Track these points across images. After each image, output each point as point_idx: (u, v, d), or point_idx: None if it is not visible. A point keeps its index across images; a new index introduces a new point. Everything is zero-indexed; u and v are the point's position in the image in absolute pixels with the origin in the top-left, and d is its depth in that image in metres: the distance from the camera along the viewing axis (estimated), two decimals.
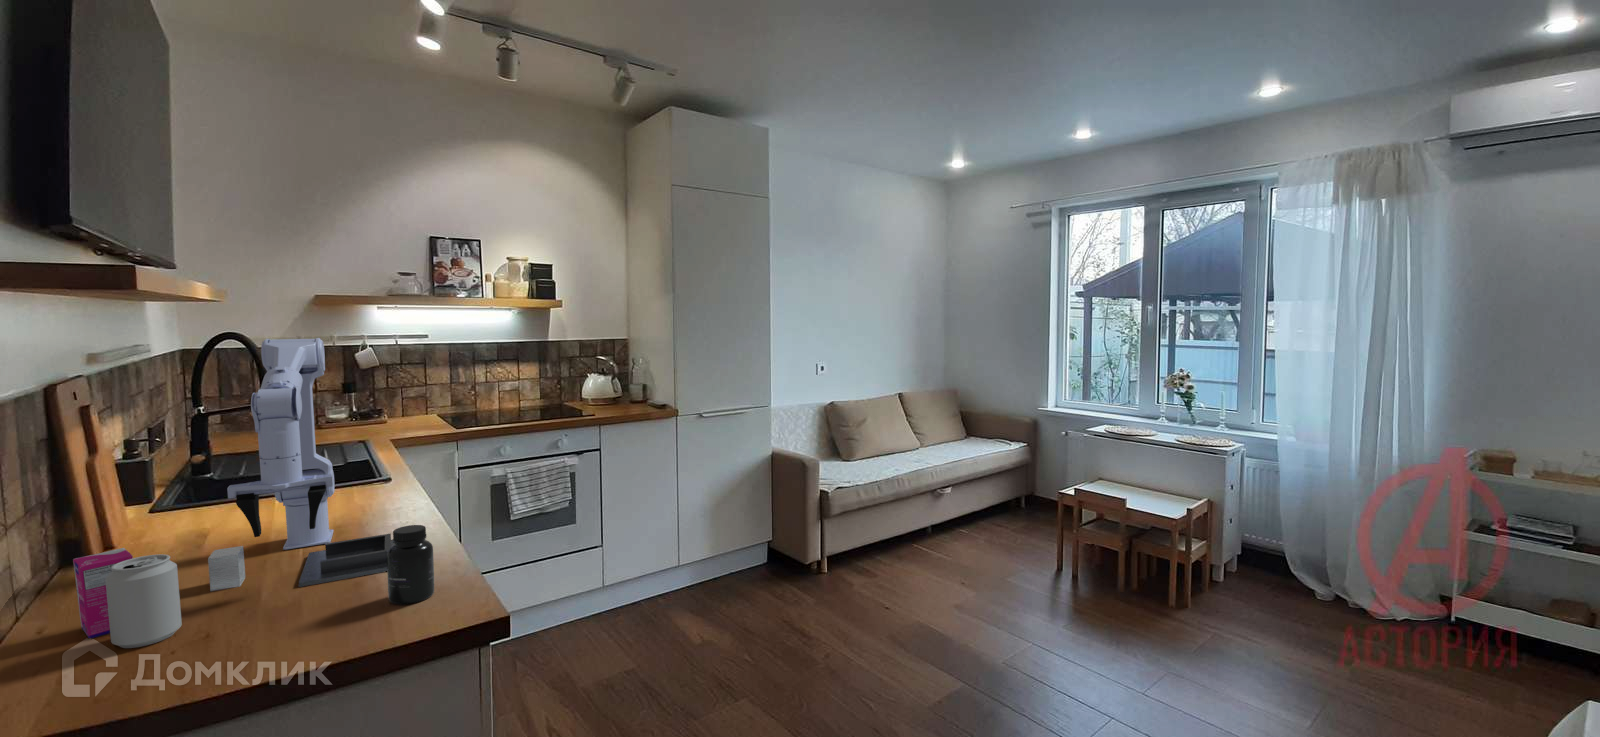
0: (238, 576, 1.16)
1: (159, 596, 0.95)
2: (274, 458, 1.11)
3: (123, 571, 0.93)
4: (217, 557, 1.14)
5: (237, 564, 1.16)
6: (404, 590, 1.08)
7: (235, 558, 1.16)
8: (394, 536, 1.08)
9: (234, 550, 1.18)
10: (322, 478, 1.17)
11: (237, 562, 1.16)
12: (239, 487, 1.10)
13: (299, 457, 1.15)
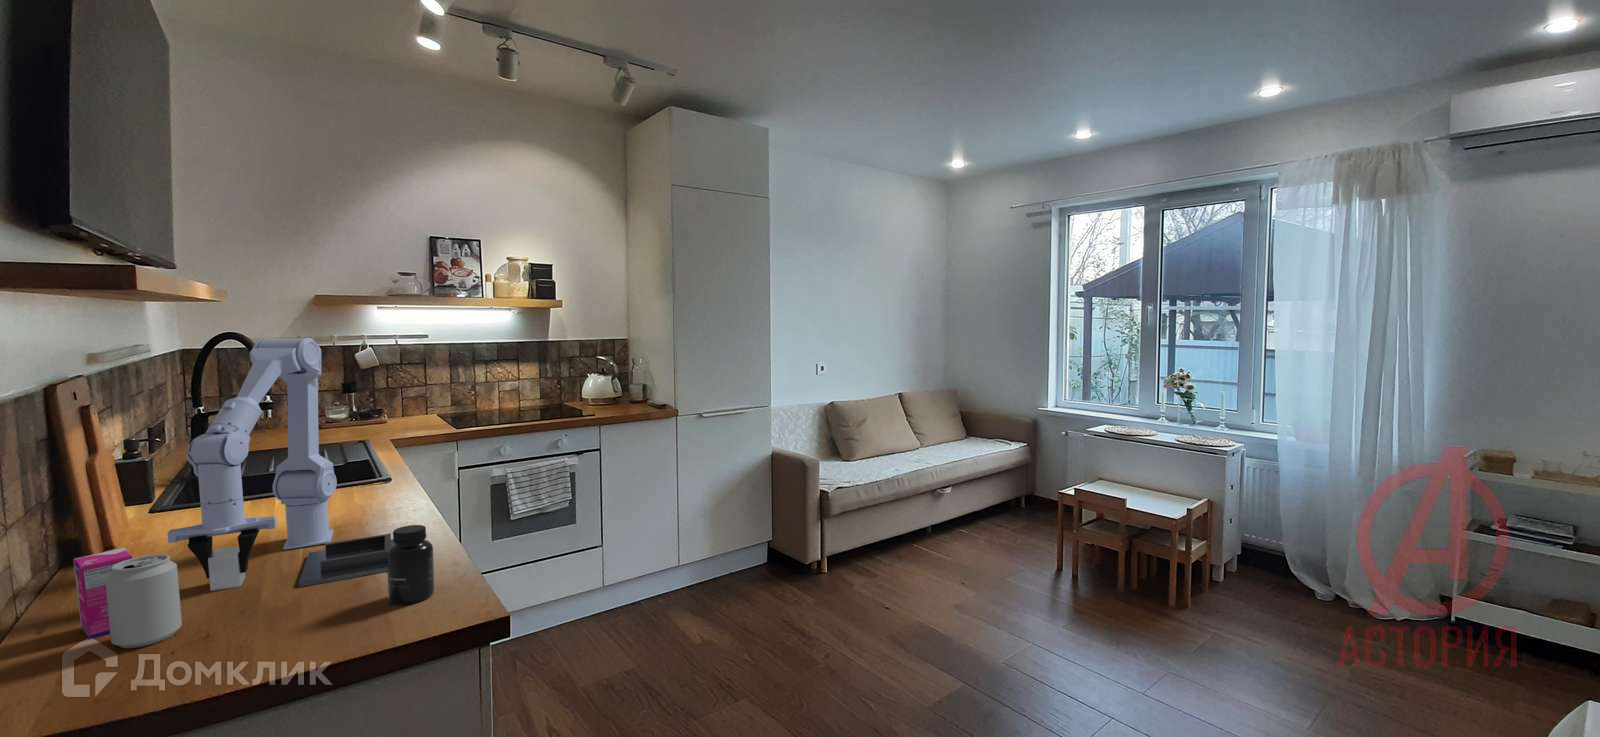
0: (238, 576, 1.16)
1: (159, 596, 0.95)
2: (214, 503, 1.13)
3: (123, 571, 0.93)
4: (217, 557, 1.14)
5: (237, 564, 1.16)
6: (404, 590, 1.08)
7: (235, 558, 1.16)
8: (394, 536, 1.08)
9: (234, 549, 1.18)
10: (264, 521, 1.19)
11: (237, 562, 1.16)
12: (179, 532, 1.12)
13: (241, 500, 1.17)
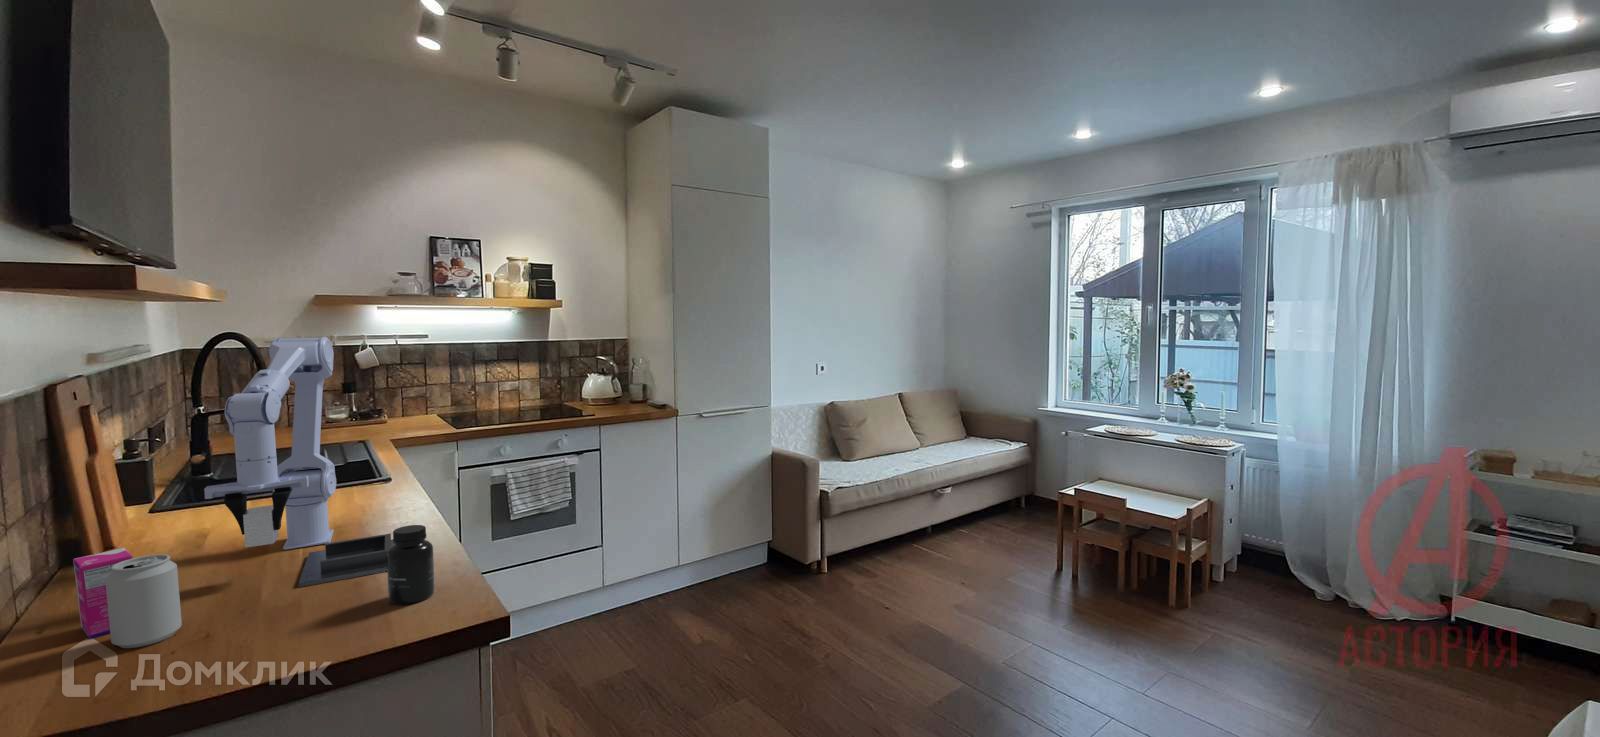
0: (272, 533, 1.18)
1: (159, 596, 0.95)
2: (249, 460, 1.16)
3: (123, 571, 0.93)
4: (252, 514, 1.17)
5: (271, 521, 1.18)
6: (404, 590, 1.08)
7: (269, 515, 1.18)
8: (394, 536, 1.08)
9: (268, 508, 1.20)
10: (297, 479, 1.21)
11: (271, 519, 1.18)
12: (216, 488, 1.15)
13: (274, 459, 1.19)
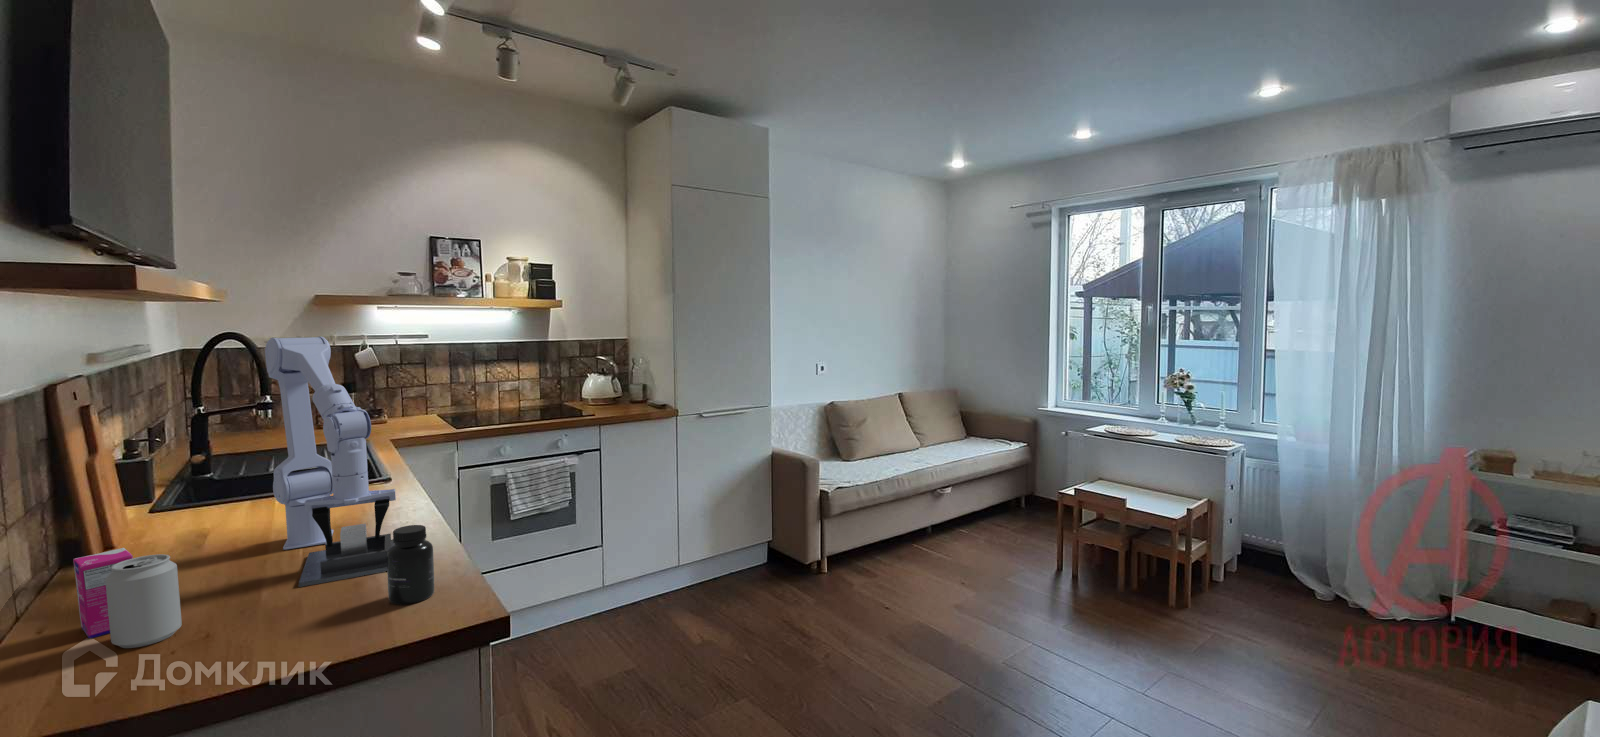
0: (365, 551, 1.26)
1: (159, 596, 0.95)
2: (346, 475, 1.23)
3: (123, 571, 0.93)
4: (348, 533, 1.24)
5: (365, 539, 1.26)
6: (404, 590, 1.08)
7: (363, 534, 1.26)
8: (394, 536, 1.08)
9: (360, 527, 1.28)
10: (386, 493, 1.28)
11: (365, 538, 1.26)
12: (315, 502, 1.22)
13: (366, 474, 1.27)
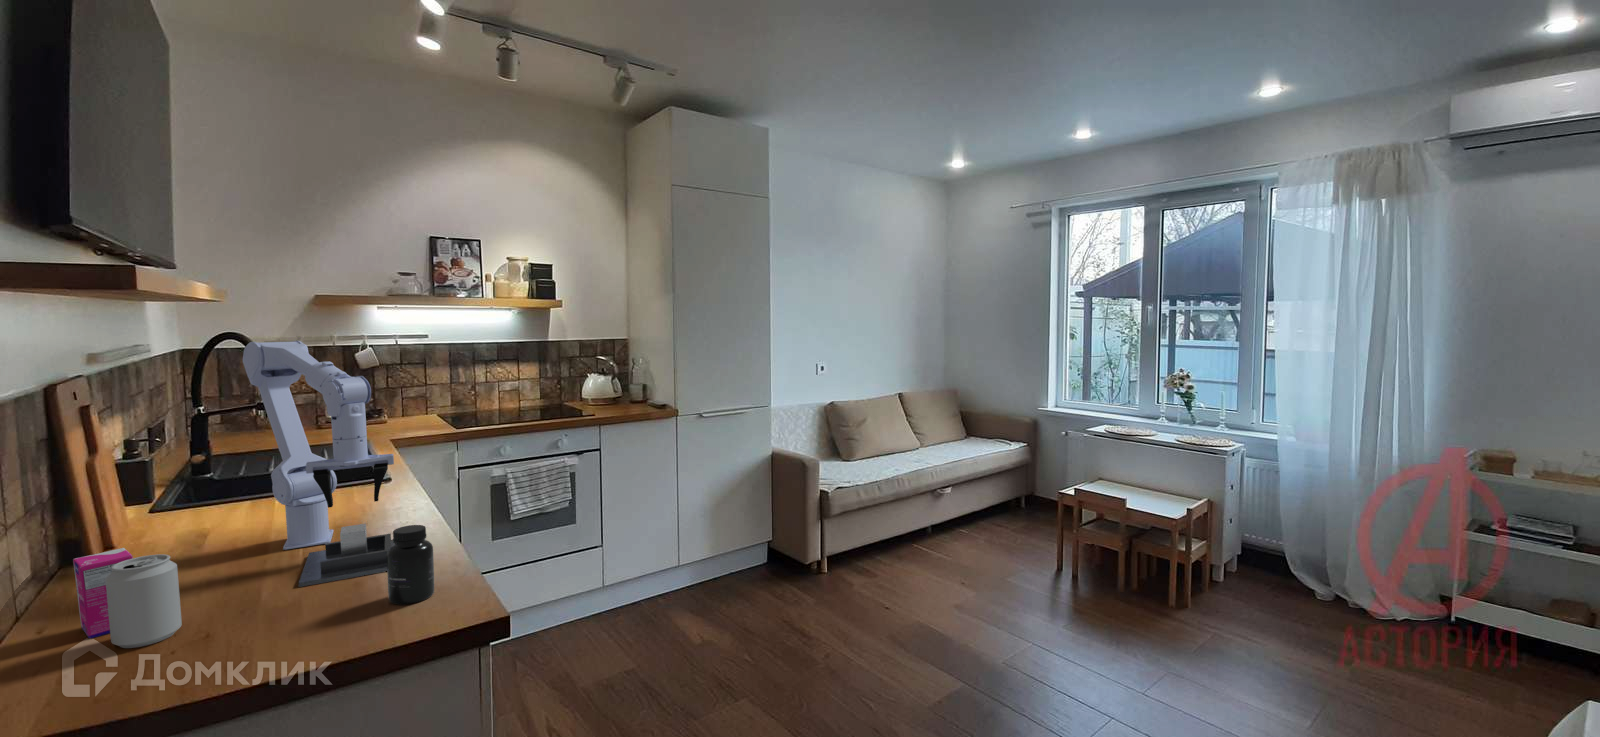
0: (365, 551, 1.26)
1: (159, 596, 0.95)
2: (345, 438, 1.28)
3: (123, 571, 0.93)
4: (348, 533, 1.24)
5: (365, 539, 1.26)
6: (404, 590, 1.08)
7: (363, 534, 1.26)
8: (394, 536, 1.08)
9: (360, 527, 1.28)
10: (385, 457, 1.33)
11: (365, 538, 1.26)
12: (316, 463, 1.27)
13: (365, 438, 1.31)
